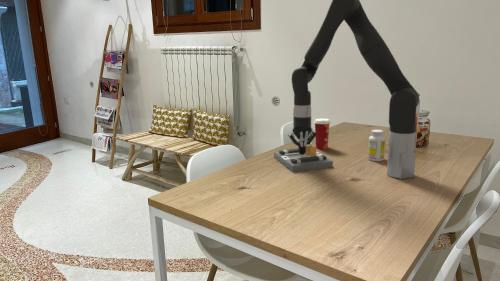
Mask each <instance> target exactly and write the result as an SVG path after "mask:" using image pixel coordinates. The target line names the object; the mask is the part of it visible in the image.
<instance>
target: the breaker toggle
mask: <svg viewBox="0 0 500 281" xmlns="http://www.w3.org/2000/svg"><path fill="white" fill-rule="evenodd" d="M316 151H317V148H316V144H313V143H312V142H311V143H310V144H309V145H306V153H305V154H306V155H308V156H315V155H316Z"/></svg>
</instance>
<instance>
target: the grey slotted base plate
mask: <svg viewBox="0 0 500 281" xmlns="http://www.w3.org/2000/svg"><path fill="white" fill-rule="evenodd" d="M279 153H280V154H281V155H283V154H291V153H299V152H298V148H291V149H281V150H279ZM326 157H327V156H326V155H324V154H322V155H320V156H312V157H304V158H295V159H291V162H292V163H293V164H294V163H302V162H310V161H318V160H326Z"/></svg>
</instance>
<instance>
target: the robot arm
mask: <svg viewBox="0 0 500 281" xmlns="http://www.w3.org/2000/svg"><path fill="white" fill-rule="evenodd" d="M343 22H346V25H347V26H348V27H349V29H350V31H351V32H352V34H353V36H354V39H355V42H356V45H357V48H358V50H359V52H360V54H361V56H362V58H363V60H364V61H365V62H366V64H367V66H368V67H369V68H370V69H371V71H372V72H373V73H374V74H375V75H376V76H377V77H378V78H379V79H380V80H381V81H382V82H383V83H384V85H385V87H386V88H387V91H389V93H390V100H389V103H388V104H389V105H388V106H389V107H388V110H389V111H388V125H389V131H388V132H389V133H388V134H389V135H388V148H387V149H388V150H387V166H386V168H387V169H386V174H387V175H388V177H392V178H396V179H400V180H403V179H408V178H409V179H410V178H414V177H415V171H416V170H415V169H416V168H415V167H416V158H417V156H416V154H417V153H416V152H415V145H416V134H417V132H416V131H417V123H416V120H417V119H416V117H417V107H418V106H419V103H420V95H419V94H418V91H417V90H416V89H415V87H413V85H412V84H411V83H410V81H409V80H408V79H407V77H406V76H405V75H404V73H403V72H402V69H401V68H400V66H399V65H398V62H397V61H396V58H395V57H394V55H393V54H392V52H391V50H390V49H389V48H390V47H388V45H387V43H386V42H385V40H384V39H383V37H382V36H381V35H380V33H379V31H378V30H377V28H376V27H375V26H374V25H373V23H372V22H371V21H370V19H369V17H368V16H367V14H366V11H365V9H364V8H363V5H362V3H361V1H360V0H331V3H330V5H329V7H328V10H327V13H326V15H325V18H324V20H323V22H322V24H321V26H320V28H319V30H318V32H317V34H316V36H315V37H314V38H313V41H312V42H311V44H310V46H309V47H308V49H307V51H306V53H305V55H304V61H303V62H302V65H301V66H300V67H297V68H295V69H294V70H293V71H292V73H291V86H292V87H291V88H292V91H293V109H292V110H293V113H292V116H293V119H292V120H293V123H292V125H293V126H292V127H293V128H292V131H291V133H288V134H287V137H288V138H289V139H290V140H291V142H292V143H293V144H294V145H296V146H297V147H298V152H299V153H300V155H304V154H305V153H306V145H309V144H310V143H312V142H313V141H314V139H315V136H316V133H315V131H314V130H313V128H312V94H311V91H310V90H309V86H308V85H309V83H310V82H312V80H313V79H314V78H315V76H316V73H317V71H318V69H319V66H320V64H321V63H322V61H323V60H324V58H325V56H326V55H327V54H328V53H327V52H329V49H330V48H331V45H332V42H333V40H334V37H335V35H336V33H337V30H338V29H339V27H340V26H341V24H342V23H343ZM295 137H296V138H295Z"/></svg>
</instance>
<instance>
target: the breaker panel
mask: <svg viewBox="0 0 500 281" xmlns="http://www.w3.org/2000/svg"><path fill="white" fill-rule="evenodd" d="M279 151H280V150H279ZM279 151H273V157H274V159H276V160H277V161H278V162H280V163H281V164H282V165H283V166H284V167H286V168H287V169H288V170H289V171H291V172H292V173H296V172H303V171H308V170H309V171H310V170H318V169H325V168H332V167H333V164H334V163H333V162H334V160H332V159H331V158H329V157H327V156H326V160H318V161H310V162H302V163H294V164H293V163H292V162H291V159H295V158H304V157H312V156H308V155H306V154H304V155H300V153H291V154H283V155H281V154H280V153H279ZM320 155H323V154H322V153H320V152H319V151H317V150H316V155H315V156H320Z"/></svg>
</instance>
